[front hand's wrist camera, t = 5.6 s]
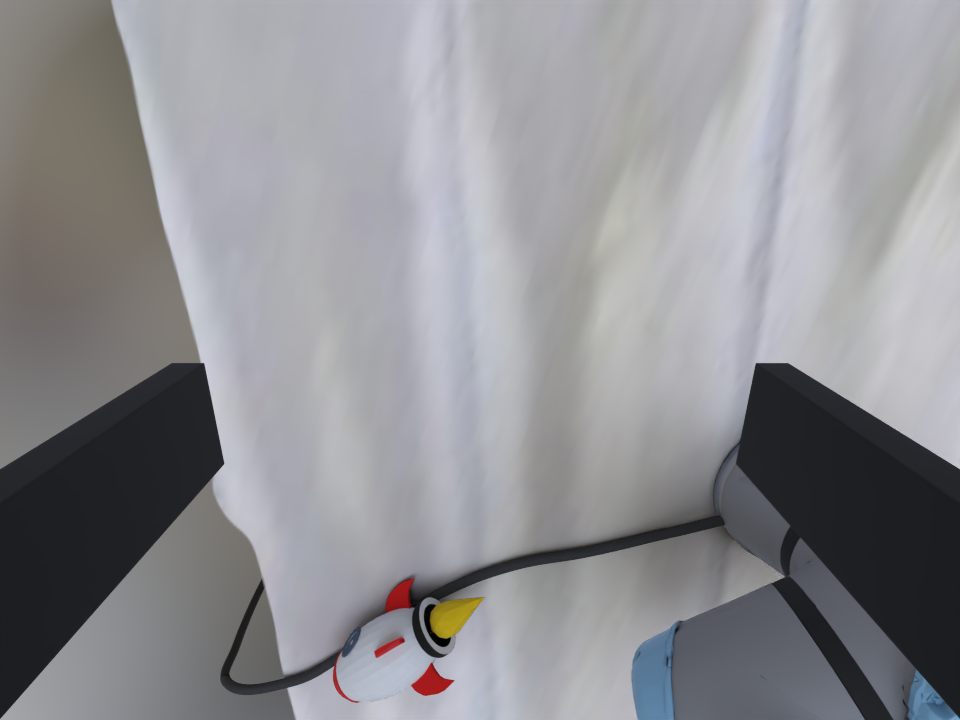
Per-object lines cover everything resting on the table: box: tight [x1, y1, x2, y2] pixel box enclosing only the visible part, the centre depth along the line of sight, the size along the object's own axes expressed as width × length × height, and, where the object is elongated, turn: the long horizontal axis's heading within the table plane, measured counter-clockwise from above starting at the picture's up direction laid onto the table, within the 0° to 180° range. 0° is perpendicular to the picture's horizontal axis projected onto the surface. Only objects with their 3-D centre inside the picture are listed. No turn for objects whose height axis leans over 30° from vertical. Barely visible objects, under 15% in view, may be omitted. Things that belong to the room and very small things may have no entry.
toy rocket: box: [333, 579, 485, 703], centre depth 52 cm, size 9×10×20 cm
